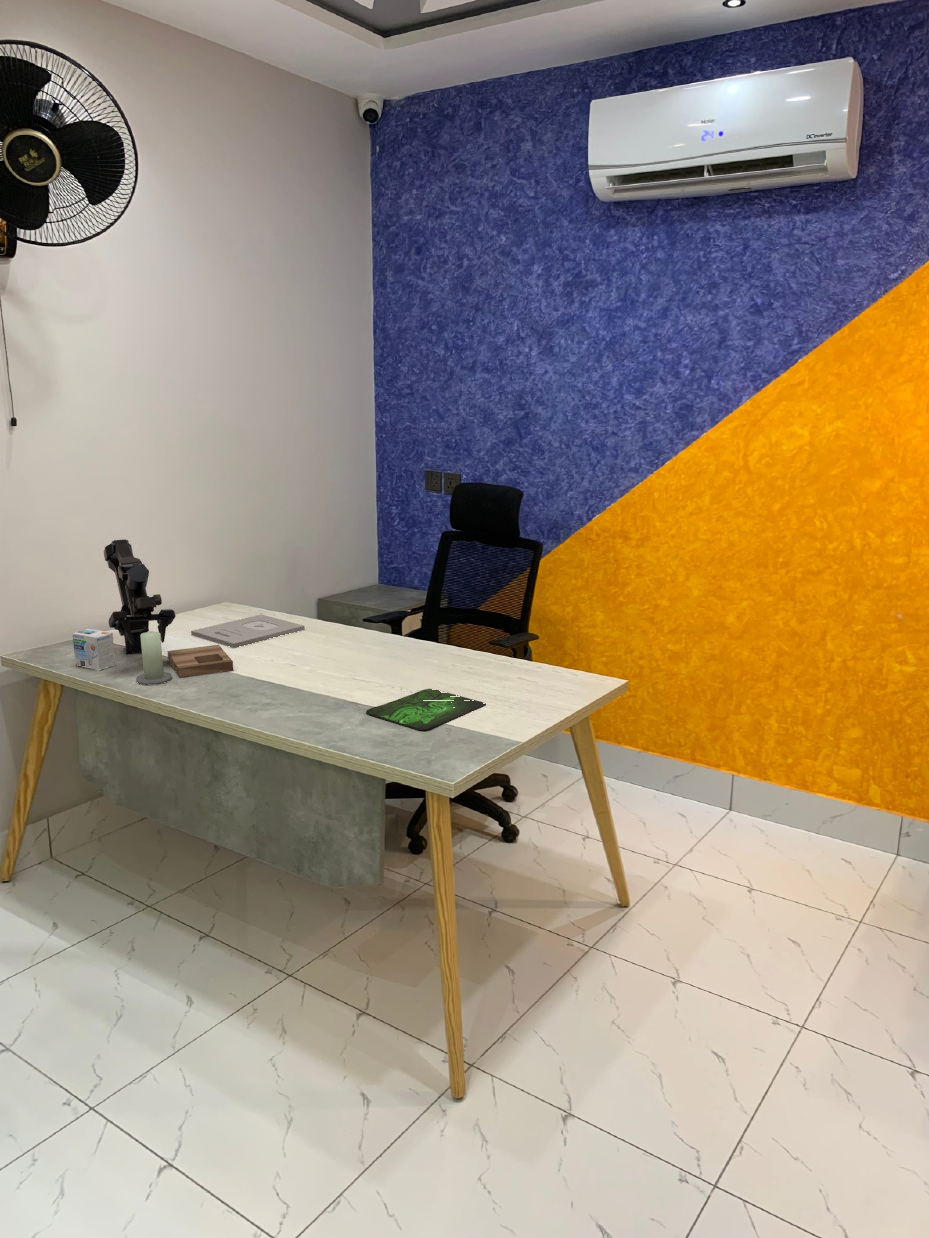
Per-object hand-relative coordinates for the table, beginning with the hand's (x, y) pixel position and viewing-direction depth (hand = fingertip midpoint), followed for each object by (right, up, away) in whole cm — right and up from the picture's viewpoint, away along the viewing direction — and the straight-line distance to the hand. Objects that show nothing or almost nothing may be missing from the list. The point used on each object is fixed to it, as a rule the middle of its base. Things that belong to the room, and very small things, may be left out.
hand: (147, 643), depth 275 cm
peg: (+4, -10, -6) cm, 12 cm away
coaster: (+4, -11, -5) cm, 12 cm away
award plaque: (+20, +2, +45) cm, 50 cm away
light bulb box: (-19, -8, +8) cm, 22 cm away
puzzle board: (+13, -7, +9) cm, 17 cm away
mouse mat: (+85, -17, -29) cm, 92 cm away
